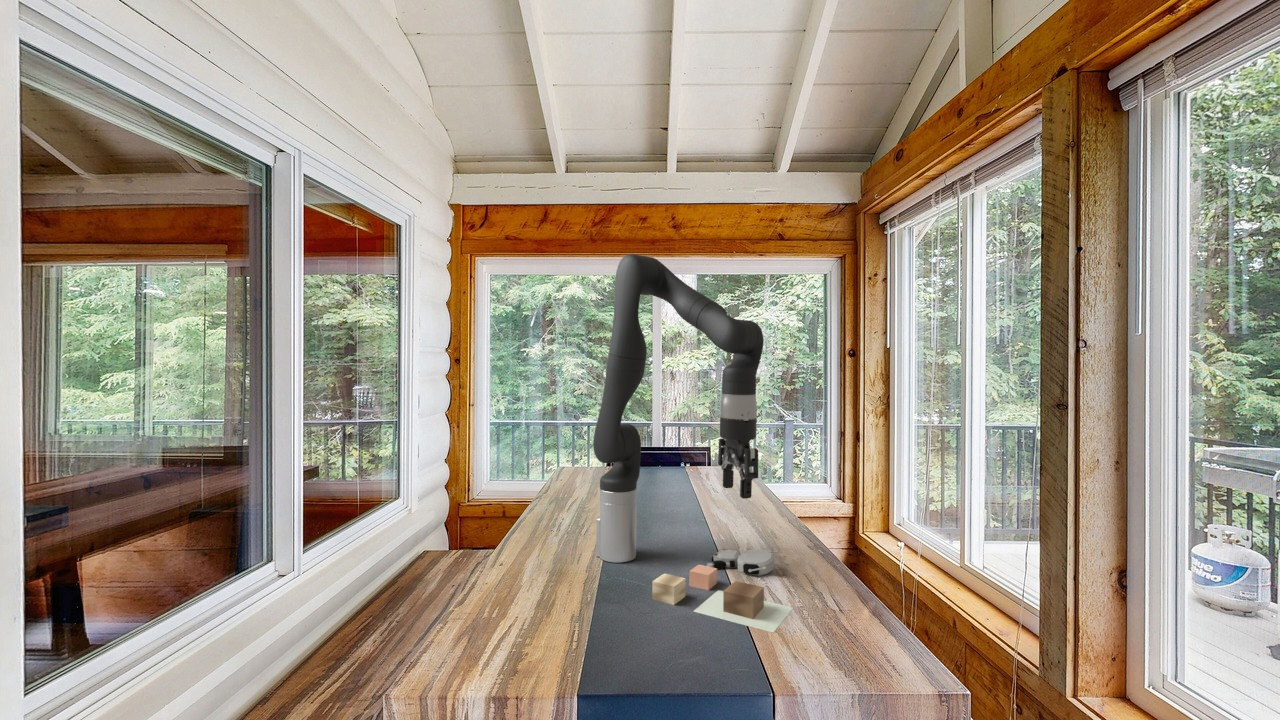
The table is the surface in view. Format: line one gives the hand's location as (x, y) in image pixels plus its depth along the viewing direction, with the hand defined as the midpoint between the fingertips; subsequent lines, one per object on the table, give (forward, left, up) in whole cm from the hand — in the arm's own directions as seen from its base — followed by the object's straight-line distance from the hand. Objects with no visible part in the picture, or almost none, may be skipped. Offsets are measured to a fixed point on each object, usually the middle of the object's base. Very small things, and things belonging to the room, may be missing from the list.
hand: (736, 492), depth 121 cm
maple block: (-11, -10, -22) cm, 27 cm away
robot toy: (-5, +15, -23) cm, 28 cm away
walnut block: (+4, -7, -21) cm, 22 cm away
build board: (+4, -7, -22) cm, 24 cm away
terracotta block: (-8, 0, -22) cm, 24 cm away
